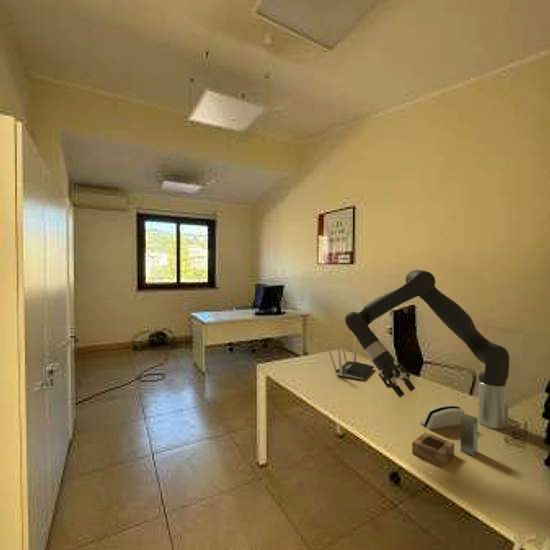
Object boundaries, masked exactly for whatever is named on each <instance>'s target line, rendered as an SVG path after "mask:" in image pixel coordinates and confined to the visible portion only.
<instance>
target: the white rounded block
mask: <svg viewBox="0 0 550 550" xmlns="http://www.w3.org/2000/svg"><path fill="white" fill-rule="evenodd" d="M464 414H466V413H465V410H464V409H462V408H461V407H460V406H459V405H458V404H449V403H448V404H440V405H436V406H434V407H431V408H429V409H427V411H426V413H425V417H424V419H421V420H420V423H419V424H420V425H423V426H425V429H426V430H434V429H441V428H448V427H455V426H461V417H462V416H463V415H464Z"/></svg>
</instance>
